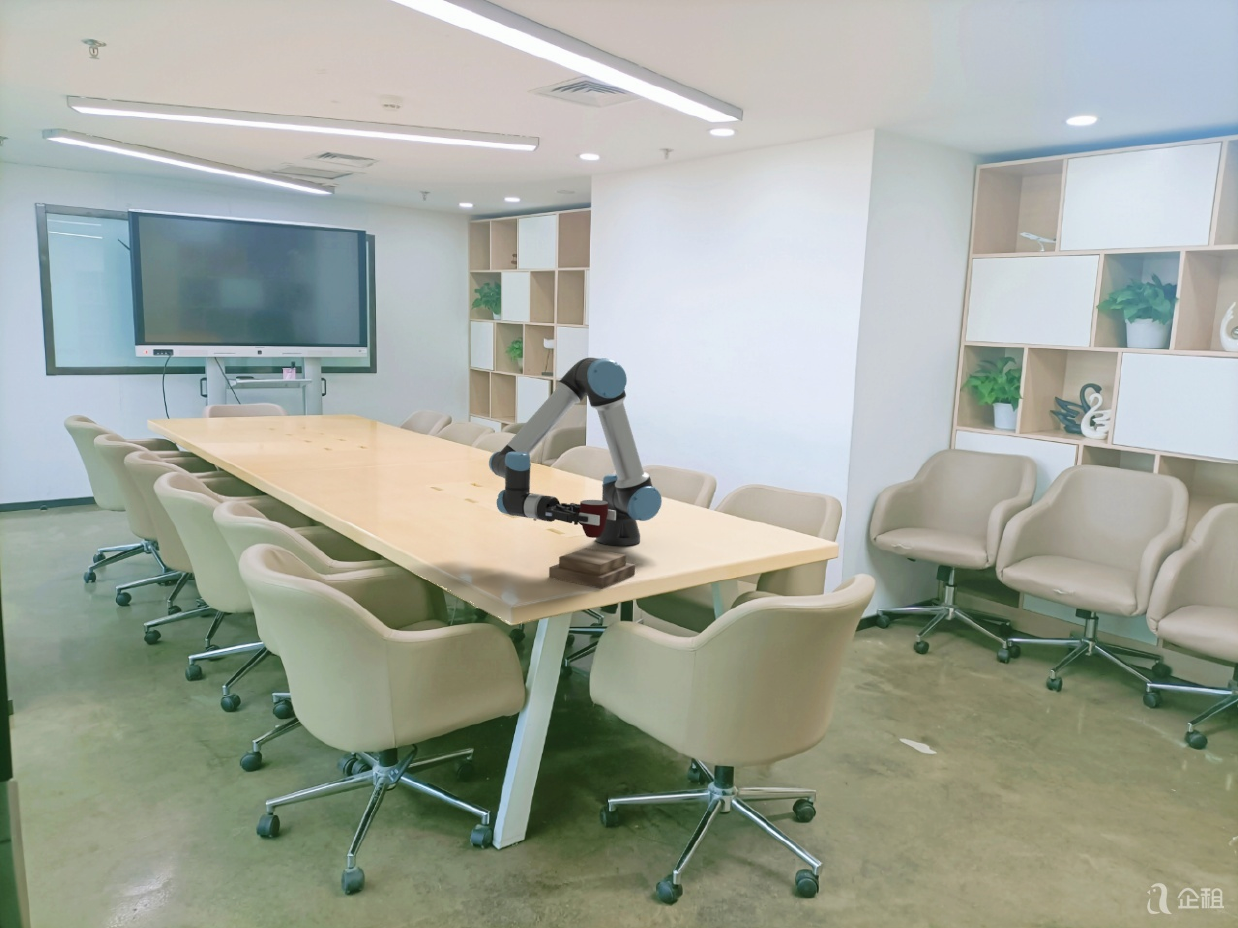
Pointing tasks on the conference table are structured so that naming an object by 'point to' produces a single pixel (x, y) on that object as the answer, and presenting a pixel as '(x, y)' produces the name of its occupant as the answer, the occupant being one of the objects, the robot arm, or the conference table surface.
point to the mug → (596, 509)
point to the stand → (592, 568)
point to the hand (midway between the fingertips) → (607, 518)
